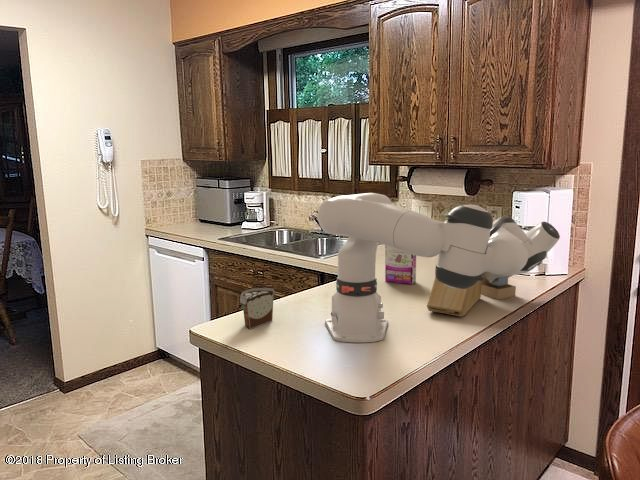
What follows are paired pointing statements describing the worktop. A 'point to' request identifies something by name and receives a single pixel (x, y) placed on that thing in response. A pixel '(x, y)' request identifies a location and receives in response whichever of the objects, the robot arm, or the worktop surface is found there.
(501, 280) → the tea tin
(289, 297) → the worktop surface
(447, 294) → the knife block
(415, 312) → the worktop surface
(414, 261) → the candy bar box
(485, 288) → the carton
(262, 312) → the food container
